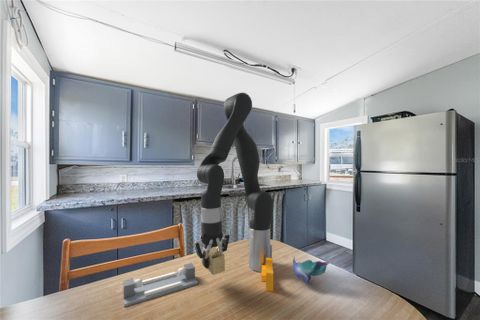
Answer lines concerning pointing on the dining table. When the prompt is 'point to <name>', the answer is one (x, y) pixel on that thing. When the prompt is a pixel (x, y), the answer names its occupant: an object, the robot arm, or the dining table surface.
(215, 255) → the tan tapered block
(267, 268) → the pipe clamp
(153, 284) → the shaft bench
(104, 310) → the dining table surface
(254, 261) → the robot arm
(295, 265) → the figurine
